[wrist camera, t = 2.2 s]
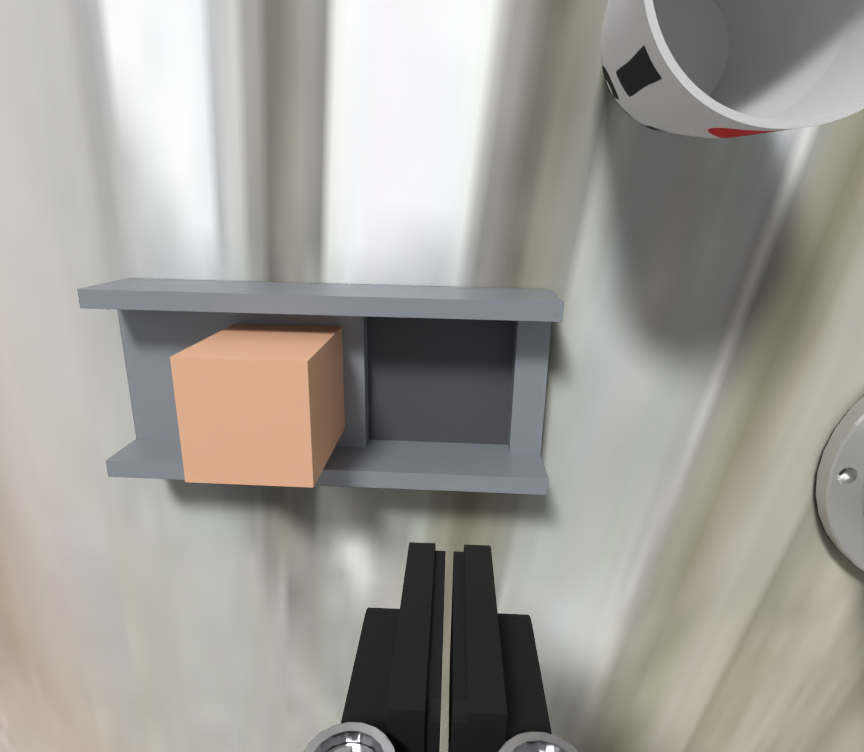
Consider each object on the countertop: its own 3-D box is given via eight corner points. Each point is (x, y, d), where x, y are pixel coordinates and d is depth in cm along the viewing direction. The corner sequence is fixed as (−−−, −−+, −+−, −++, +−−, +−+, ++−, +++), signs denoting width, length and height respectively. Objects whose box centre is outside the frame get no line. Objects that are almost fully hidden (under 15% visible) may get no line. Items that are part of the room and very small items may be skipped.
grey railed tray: (549, 289, 26) (564, 302, 22) (536, 458, 28) (546, 494, 25) (128, 278, 27) (77, 289, 23) (151, 443, 29) (108, 476, 26)
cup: (534, 114, 24) (583, 51, 14) (625, -101, 21) (759, -351, 12) (703, 190, 24) (862, 179, 15) (811, -11, 22) (1083, -180, 12)
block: (341, 326, 26) (307, 361, 20) (344, 427, 27) (313, 487, 21) (234, 323, 26) (170, 356, 20) (243, 424, 27) (185, 482, 21)
